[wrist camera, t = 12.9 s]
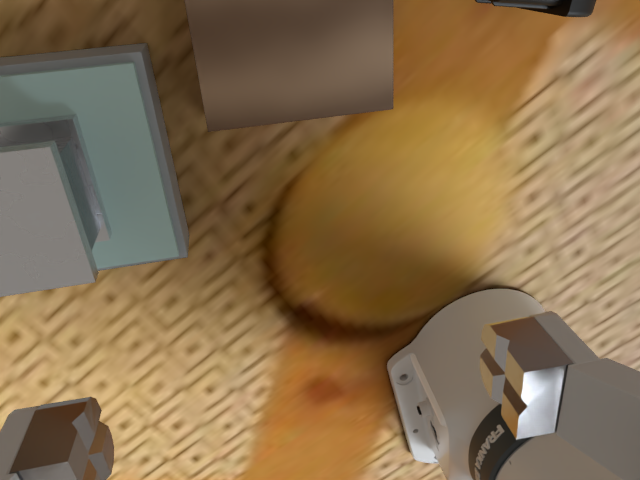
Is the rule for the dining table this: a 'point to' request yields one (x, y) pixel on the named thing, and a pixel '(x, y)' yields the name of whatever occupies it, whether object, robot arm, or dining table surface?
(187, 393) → the dining table surface
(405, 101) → the dining table surface
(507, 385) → the robot arm
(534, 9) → the end cap
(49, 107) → the stand
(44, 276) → the block
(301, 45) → the stand
